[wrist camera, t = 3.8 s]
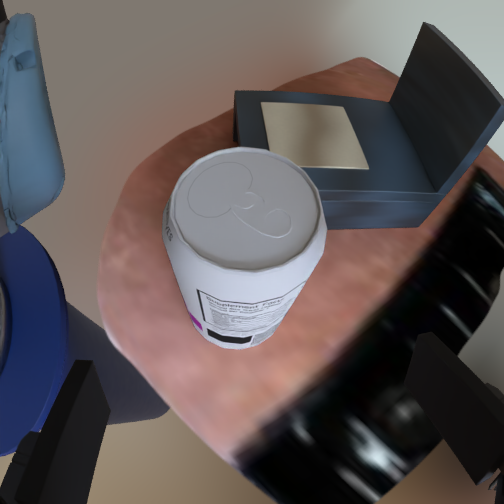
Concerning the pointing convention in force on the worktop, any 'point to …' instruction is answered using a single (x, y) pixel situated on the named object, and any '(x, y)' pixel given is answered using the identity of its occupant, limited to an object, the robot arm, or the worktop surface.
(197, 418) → the worktop surface
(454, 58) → the chair
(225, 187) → the supplement can
